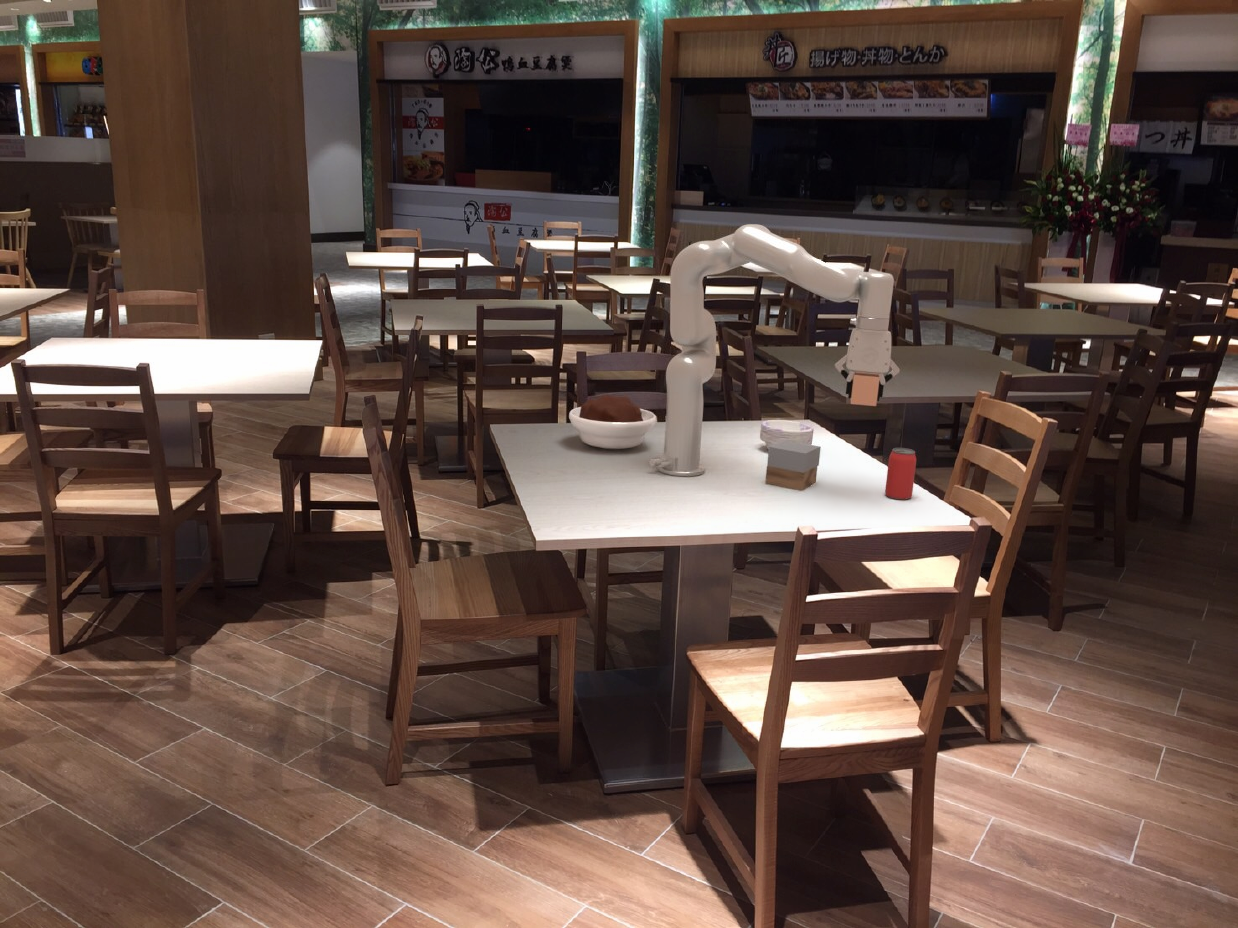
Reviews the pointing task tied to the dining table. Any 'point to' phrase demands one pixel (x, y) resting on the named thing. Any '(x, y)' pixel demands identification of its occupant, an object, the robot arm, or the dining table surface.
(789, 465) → the slate slab
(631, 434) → the bowl of brown food
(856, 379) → the terracotta block
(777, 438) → the paper bowls
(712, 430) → the dining table surface
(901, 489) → the beer can
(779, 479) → the walnut slab
